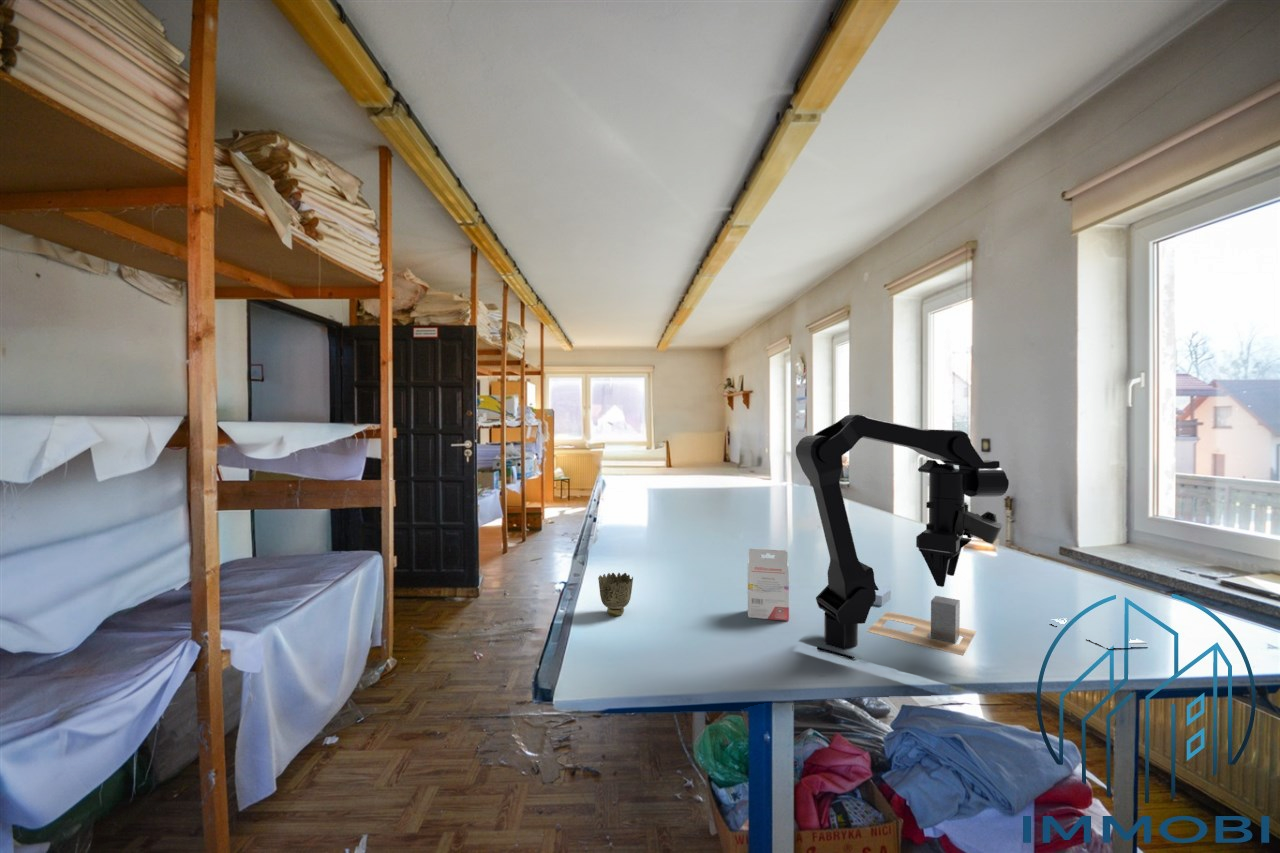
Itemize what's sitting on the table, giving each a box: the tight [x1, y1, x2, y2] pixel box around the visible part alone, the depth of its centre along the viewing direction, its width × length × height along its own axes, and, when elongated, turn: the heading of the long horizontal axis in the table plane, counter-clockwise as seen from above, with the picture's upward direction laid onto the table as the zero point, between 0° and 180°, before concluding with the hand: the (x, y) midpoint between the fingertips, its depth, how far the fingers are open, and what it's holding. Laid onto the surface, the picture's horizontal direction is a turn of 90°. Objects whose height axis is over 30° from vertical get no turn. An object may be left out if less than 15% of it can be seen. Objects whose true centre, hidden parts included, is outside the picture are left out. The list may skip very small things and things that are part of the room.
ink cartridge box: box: [747, 547, 790, 622], centre depth 114 cm, size 9×5×15 cm, turn 76°
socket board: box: [866, 611, 977, 656], centre depth 102 cm, size 14×16×2 cm
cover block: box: [872, 586, 892, 607], centre depth 120 cm, size 6×8×4 cm
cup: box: [597, 572, 634, 617], centre depth 114 cm, size 8×7×8 cm
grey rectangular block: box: [930, 595, 961, 644], centre depth 99 cm, size 4×4×8 cm
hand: (945, 580), depth 99 cm, fingers open, 9 cm apart
